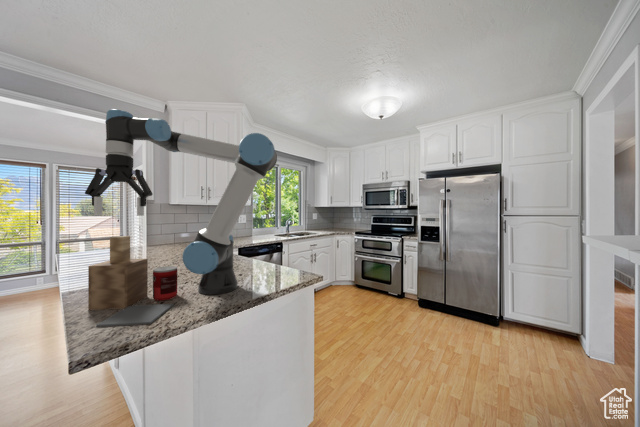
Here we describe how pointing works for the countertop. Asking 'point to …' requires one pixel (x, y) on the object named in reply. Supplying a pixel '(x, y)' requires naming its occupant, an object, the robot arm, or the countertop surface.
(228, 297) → the countertop surface
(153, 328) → the countertop surface
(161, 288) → the canned food
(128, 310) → the mat
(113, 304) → the wooden stepped block
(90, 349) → the countertop surface
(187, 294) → the countertop surface
